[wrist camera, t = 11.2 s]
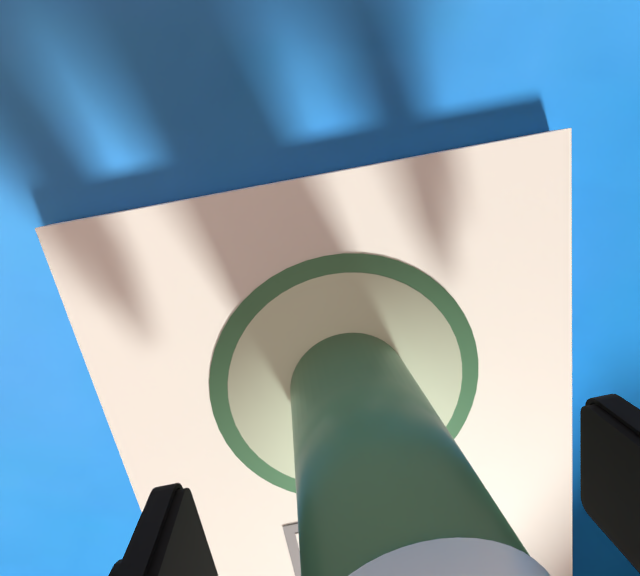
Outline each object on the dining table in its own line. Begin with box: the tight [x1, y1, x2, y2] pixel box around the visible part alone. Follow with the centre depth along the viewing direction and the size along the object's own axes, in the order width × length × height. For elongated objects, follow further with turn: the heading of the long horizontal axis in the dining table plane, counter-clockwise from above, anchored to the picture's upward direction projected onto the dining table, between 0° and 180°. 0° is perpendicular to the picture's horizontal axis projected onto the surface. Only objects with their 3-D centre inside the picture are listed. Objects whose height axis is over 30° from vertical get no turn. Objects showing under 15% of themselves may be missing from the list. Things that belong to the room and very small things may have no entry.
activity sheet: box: [35, 128, 572, 576], centre depth 16 cm, size 16×20×1 cm
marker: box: [290, 333, 550, 576], centre depth 9 cm, size 4×4×10 cm
